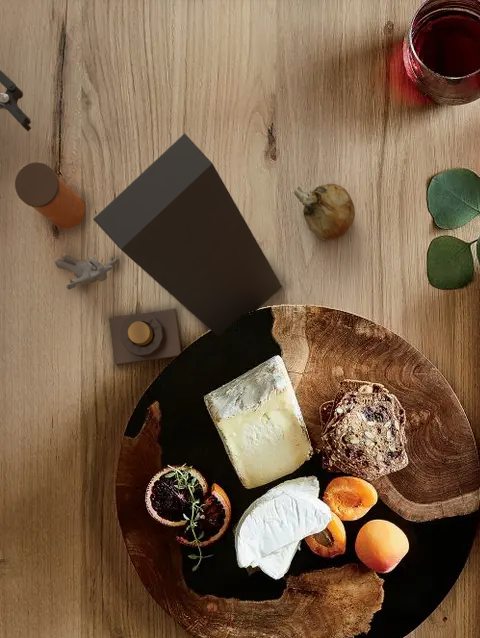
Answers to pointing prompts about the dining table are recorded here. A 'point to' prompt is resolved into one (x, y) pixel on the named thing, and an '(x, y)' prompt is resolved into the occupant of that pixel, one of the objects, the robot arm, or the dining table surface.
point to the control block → (159, 347)
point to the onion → (327, 211)
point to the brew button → (140, 333)
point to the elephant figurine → (85, 269)
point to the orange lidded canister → (49, 195)
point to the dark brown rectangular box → (191, 237)
